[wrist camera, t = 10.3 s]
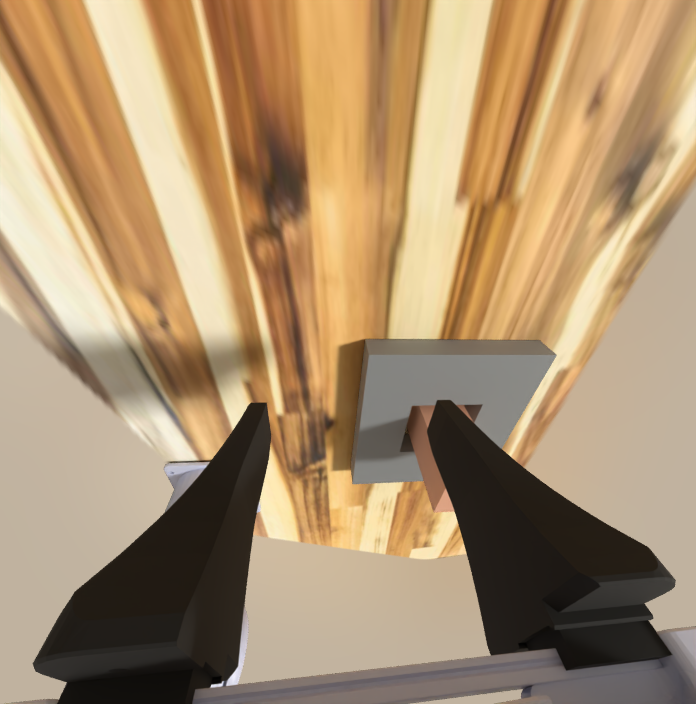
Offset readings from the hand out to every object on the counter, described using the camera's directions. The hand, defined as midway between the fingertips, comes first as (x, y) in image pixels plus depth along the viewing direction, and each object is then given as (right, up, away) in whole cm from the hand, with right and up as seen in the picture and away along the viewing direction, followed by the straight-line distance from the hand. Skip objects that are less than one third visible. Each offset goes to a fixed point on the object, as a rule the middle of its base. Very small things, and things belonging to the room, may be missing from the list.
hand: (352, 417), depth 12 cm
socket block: (+8, -3, +14) cm, 16 cm away
